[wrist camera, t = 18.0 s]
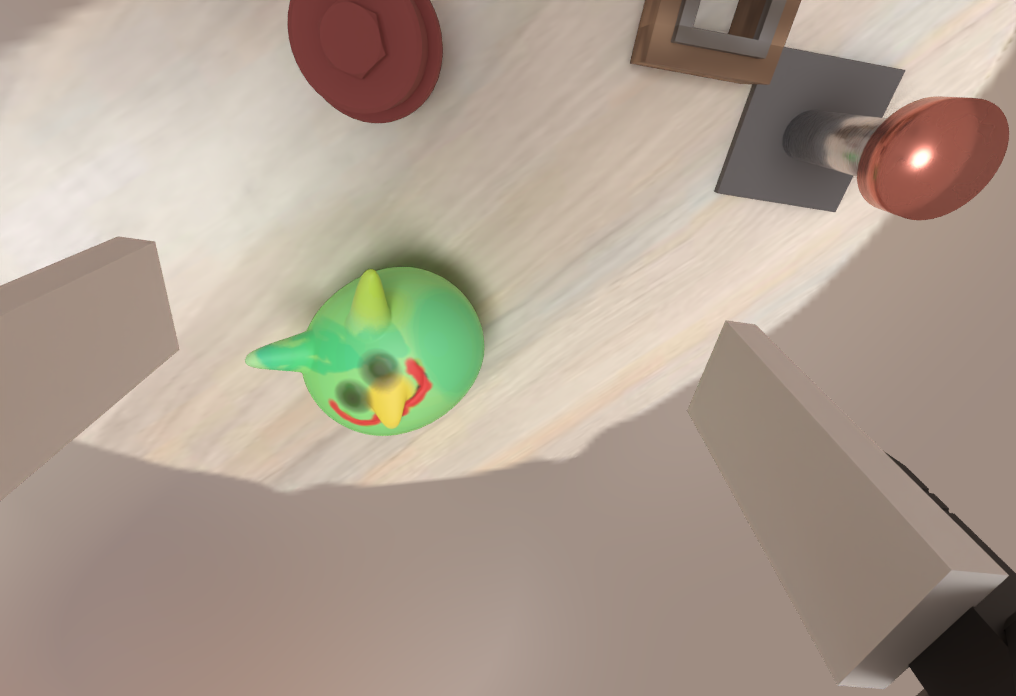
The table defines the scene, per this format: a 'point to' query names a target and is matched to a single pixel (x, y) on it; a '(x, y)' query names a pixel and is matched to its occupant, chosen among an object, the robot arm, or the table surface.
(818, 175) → the rubber mat
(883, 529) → the robot arm
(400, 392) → the toy bird
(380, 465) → the table surface
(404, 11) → the mechanical component
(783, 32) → the eye block
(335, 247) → the table surface
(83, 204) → the table surface
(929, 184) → the peg
